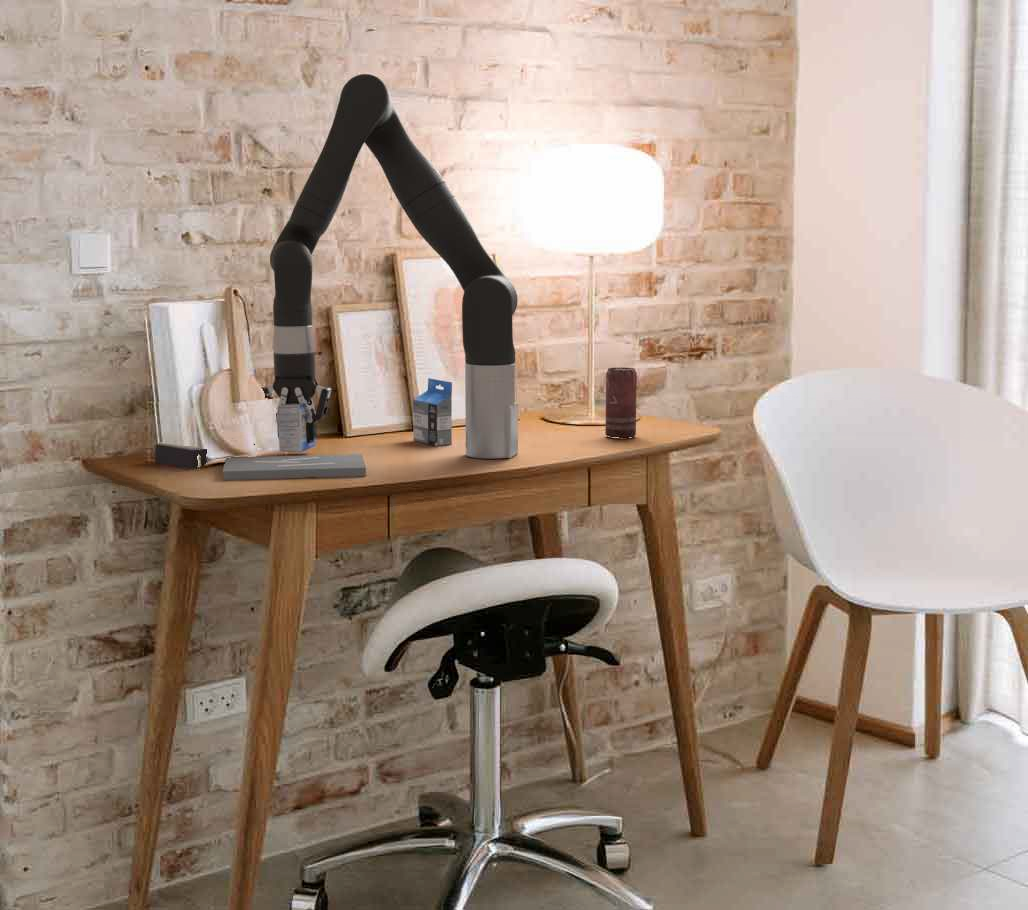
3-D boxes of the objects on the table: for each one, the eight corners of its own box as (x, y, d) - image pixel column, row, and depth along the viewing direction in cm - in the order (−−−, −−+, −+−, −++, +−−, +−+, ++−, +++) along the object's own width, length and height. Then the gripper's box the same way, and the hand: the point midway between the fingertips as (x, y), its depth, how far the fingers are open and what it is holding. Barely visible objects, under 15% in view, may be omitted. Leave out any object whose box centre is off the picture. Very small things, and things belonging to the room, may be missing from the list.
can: (628, 440, 273) (629, 370, 271) (600, 437, 277) (601, 368, 274) (642, 436, 278) (643, 367, 276) (614, 433, 282) (615, 366, 279)
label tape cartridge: (412, 440, 273) (411, 379, 271) (428, 439, 275) (428, 377, 273) (436, 446, 266) (436, 383, 264) (453, 444, 268) (452, 382, 266)
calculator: (258, 440, 252) (192, 446, 241) (258, 463, 253) (192, 470, 241) (219, 434, 259) (154, 440, 247) (219, 456, 260) (154, 463, 248)
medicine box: (301, 452, 250) (300, 405, 249) (278, 452, 251) (276, 405, 250) (316, 446, 258) (314, 400, 257) (293, 445, 259) (292, 400, 257)
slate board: (361, 462, 248) (361, 454, 248) (366, 476, 234) (365, 467, 234) (226, 465, 244) (226, 457, 244) (222, 480, 231) (222, 471, 230)
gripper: (338, 348, 254) (340, 440, 256) (266, 348, 257) (269, 438, 260) (323, 352, 246) (326, 446, 249) (249, 351, 250) (253, 444, 252)
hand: (297, 441), depth 254 cm, fingers closed on medicine box, 4 cm apart
